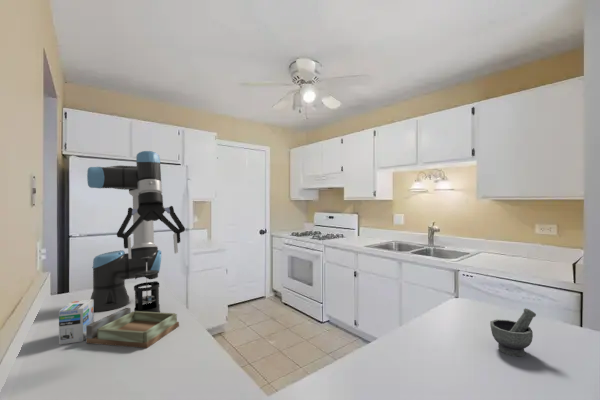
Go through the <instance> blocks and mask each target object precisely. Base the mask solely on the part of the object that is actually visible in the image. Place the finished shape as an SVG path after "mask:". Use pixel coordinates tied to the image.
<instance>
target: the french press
mask: <svg viewBox="0 0 600 400" xmlns="http://www.w3.org/2000/svg"><path fill="white" fill-rule="evenodd" d="M151 258H152V257H143V258H141V259H145V262H146V271H141V272H137V273H135V274H134V276H135V278H134V280H137V279H138V278H139V277H141V278H145V279H146V282H141V283H138V284H135V285H134V286H133V291H134V306H135V307H134V309H133V312H136V311H143V312H160V313H161V309H160V307H161V305H160V294H159V293H160V291H159V290H160V282H159V281H157V280H156V281H148V280H155V279H157V278H158V277H159V274H160V270H159V271H158V270H147V262H148V259H151ZM139 279H140V278H139ZM148 286H149V287H148ZM148 291H150V295H148ZM143 292H146V295H144V296H143Z"/></svg>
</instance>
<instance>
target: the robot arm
mask: <svg viewBox="0 0 600 400" xmlns="http://www.w3.org/2000/svg"><path fill="white" fill-rule="evenodd" d="M135 158H136V160H135V163H136V165H111V166H105V167H103V166H90V167H88V168H87V171H86V172H87V174H86V176H87V177H86V181H87V186H88V187H89V188H91V189H116V190H125V191H126V190H128V193H129V195H130V196H131V197H132V207H128V209H127V214H126V215H125V217H124V220H123V222H122V224H121V225H120V226H119V229H118V230H117V233H116V237H117V238H121V239H123V248H124V249H126V250H127V249H128V250H127V252H125V250H114V251H109V252H108V251H107V252H104V253H101V254H98V255H96V256H94V258H93V261H92V262H93V263H92V275H93V276H92V292H91V296H90V299H89V300H91V299H93V300H94V312H105V311H106V312H107V311H111V310H117V309H120V308H122V307H125V306H127V305H128V304H129V303H130V296H129V295H128V292H127V289H126V285H125V284H126V282H125V280H132V279H134V280H135V276H134V274H135V273H137V272H141V271H146V262H145V259H141V258H143V257H152V258H151V259H148V262H147V270H158V271H159V272H160V269H161V263H162V250H161V249H159V248H158V247H159V246H158V245H156V243H155V237H154V236H155V232H154V230H155V229H154V222H157V221H158V220H159V221H161V222H162V224H164V225H166V226H167V227H168V228H169V230H171V231H172V232H173V235H172V236H173V251H174V254H175V255H176V254H178V253H179V248H178V244H180V243H181V233H184V232H185V230H186V227H185V226H184V224H183V223H182V221H181V219H179V217H178V215H177V214H176V212H175V210H174V206H172V205H170V206H169V207H165V206H164V199H163V198H164V197H163V194H162V193H163V188H162V187H163V185H162V175H161V174H162V171H161V158H160V155H159V154H158V153H157V152H155V151H153V150H152V151H151V150H142V151H139V152H138V153H137V154H136V157H135ZM165 212H166V213H167V214H169V216H170V218H171V219H172V221H174V223H175V225H174V224H173V222H171V221H170V220H169V219H168V218H167V217H166V216H165V215H164V213H165ZM131 219H132V223H133V224H132V225H131V226H130V227H129V228H128V229H127V230H126V228H127V227H128V225H129V223H130V221H131ZM125 230H126V232H125ZM124 232H125V233H124ZM131 235H132V237H133V239H132V240H133V245H132V244H131V243H132V241H131ZM140 278H142V277H139V279H140Z"/></svg>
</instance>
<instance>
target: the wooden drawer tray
mask: <svg viewBox="0 0 600 400" xmlns="http://www.w3.org/2000/svg"><path fill="white" fill-rule="evenodd" d="M177 318H178V313H174V312H161V311H160V312H143V311H136V312H134V311H132V312H131V307H125V308H123V309H120V310H119V311H115V312H113V313H111V314H109V315H107V316H105V317H102V318H100V319H97V320H96V321H94V322H93V323H91V324H89V325H87V326H86V334H87V337H86V344H94V345H95V344H96V345H106V346H117V347H118V346H119V347H127V348H128V347H129V348H142V349H148V348H149V347H151V346H152V345H154V344H155V343H157V342H158V341H160V340H161V339H162V338H164V337H166V336H167V335H168V334H170V333H171V332H173V331H174V330H176V328H178V327H180V322H179V321H178V320H177Z"/></svg>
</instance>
